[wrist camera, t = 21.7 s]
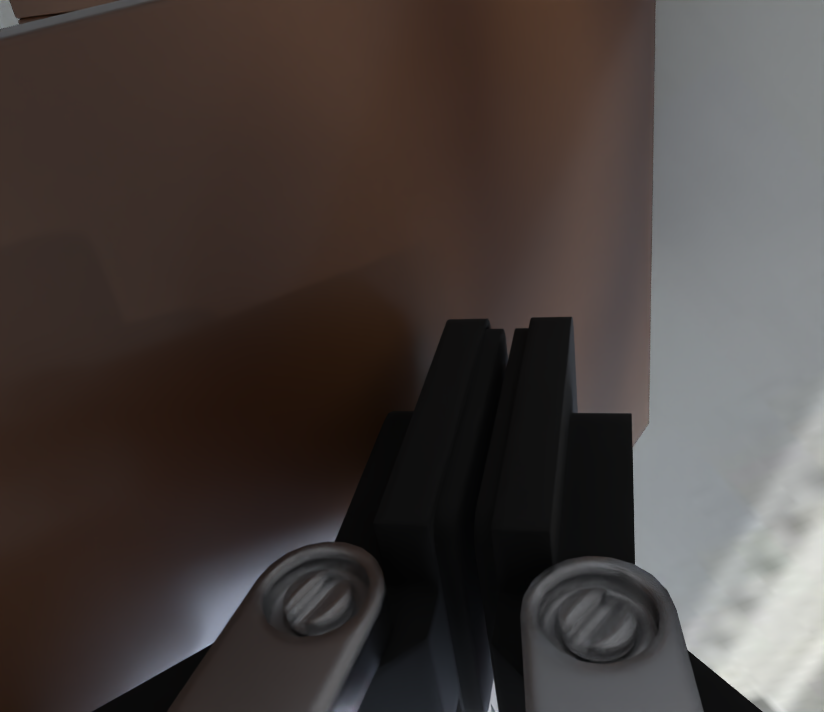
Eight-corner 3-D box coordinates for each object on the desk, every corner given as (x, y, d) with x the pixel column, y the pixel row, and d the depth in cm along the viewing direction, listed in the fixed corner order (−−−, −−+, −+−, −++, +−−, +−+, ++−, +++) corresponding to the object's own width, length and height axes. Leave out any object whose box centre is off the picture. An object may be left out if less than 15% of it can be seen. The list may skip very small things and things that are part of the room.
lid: (180, 1009, 10) (220, 1050, 10) (-433, 131, 4) (-400, 139, 4) (619, 416, 20) (650, 423, 20) (615, -120, 14) (659, -126, 14)
